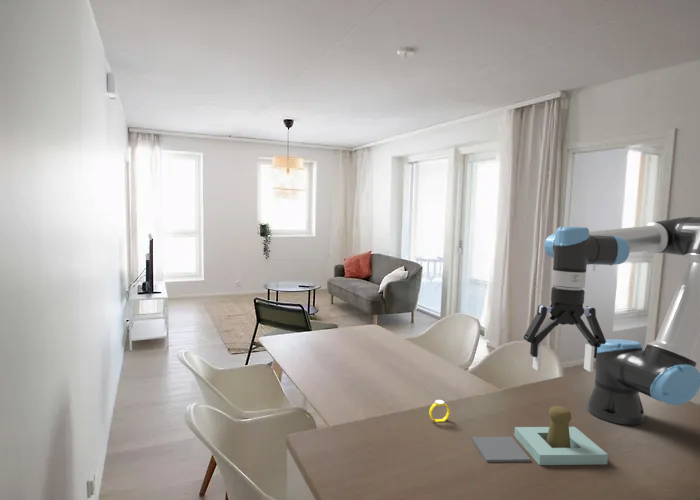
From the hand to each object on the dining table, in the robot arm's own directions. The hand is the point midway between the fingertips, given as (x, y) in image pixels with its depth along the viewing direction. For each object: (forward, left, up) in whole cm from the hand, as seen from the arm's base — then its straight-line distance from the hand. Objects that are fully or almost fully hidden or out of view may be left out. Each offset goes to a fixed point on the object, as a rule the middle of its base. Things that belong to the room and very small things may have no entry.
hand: (562, 369), depth 110 cm
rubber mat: (+16, 0, -21) cm, 26 cm away
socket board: (0, 0, -21) cm, 21 cm away
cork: (0, 0, -21) cm, 21 cm away
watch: (+27, -16, -21) cm, 38 cm away
